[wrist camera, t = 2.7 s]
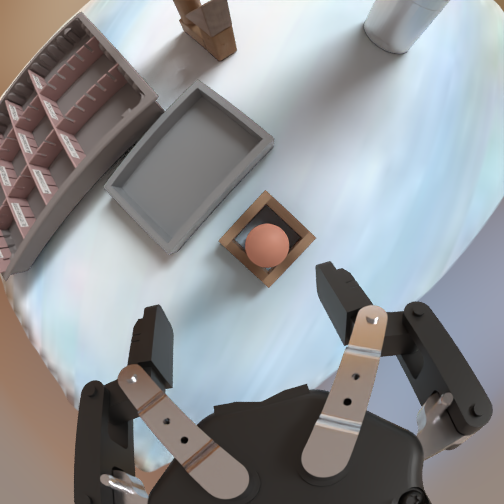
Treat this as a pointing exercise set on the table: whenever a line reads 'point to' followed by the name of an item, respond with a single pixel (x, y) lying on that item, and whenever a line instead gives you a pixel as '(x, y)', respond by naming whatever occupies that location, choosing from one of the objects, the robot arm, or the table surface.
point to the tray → (187, 165)
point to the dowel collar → (247, 217)
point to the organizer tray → (64, 134)
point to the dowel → (267, 245)
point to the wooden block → (208, 25)
